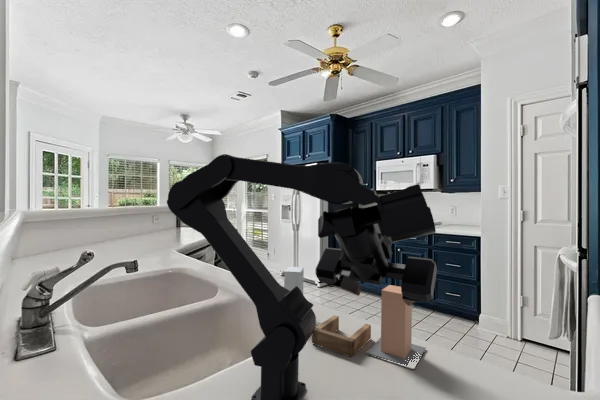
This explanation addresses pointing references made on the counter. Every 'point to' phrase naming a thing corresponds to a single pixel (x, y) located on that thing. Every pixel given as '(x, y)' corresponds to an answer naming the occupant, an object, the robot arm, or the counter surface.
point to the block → (395, 322)
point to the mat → (377, 352)
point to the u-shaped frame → (340, 337)
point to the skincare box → (294, 278)
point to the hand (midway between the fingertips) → (383, 298)
